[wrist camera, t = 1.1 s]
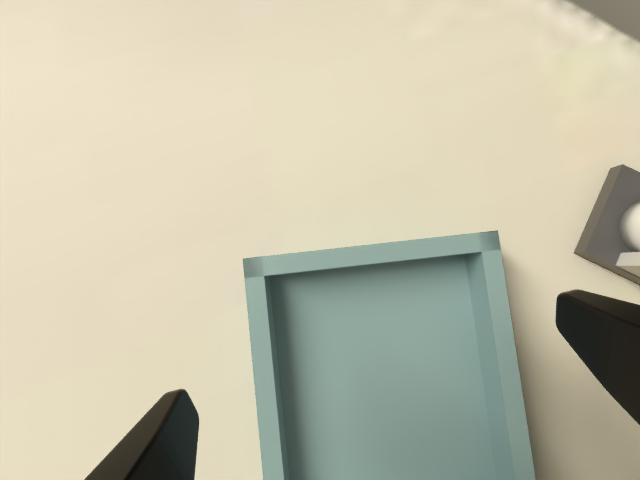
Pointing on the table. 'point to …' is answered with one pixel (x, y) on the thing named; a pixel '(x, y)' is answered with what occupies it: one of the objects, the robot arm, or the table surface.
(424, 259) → the tray
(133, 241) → the table surface
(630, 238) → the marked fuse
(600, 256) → the fuse holder
